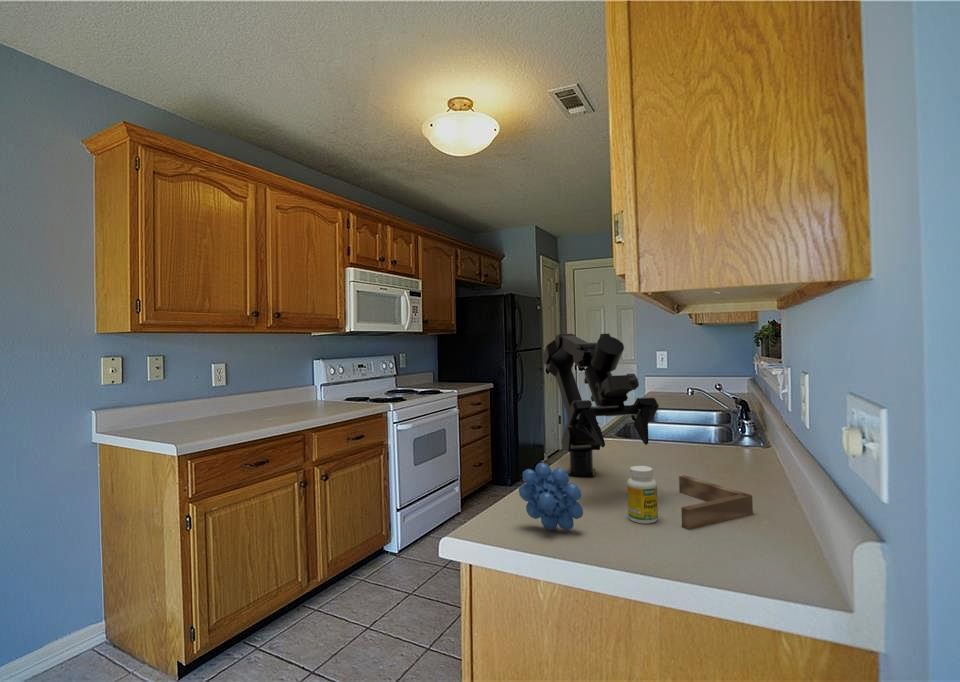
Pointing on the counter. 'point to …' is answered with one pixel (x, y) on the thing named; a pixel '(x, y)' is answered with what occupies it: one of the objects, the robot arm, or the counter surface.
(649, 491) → the supplement bottle
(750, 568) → the counter surface
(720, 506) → the walnut corner walls
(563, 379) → the robot arm
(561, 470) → the blue knobby flower
